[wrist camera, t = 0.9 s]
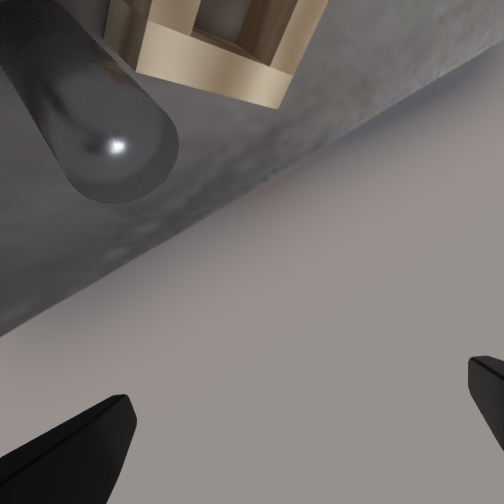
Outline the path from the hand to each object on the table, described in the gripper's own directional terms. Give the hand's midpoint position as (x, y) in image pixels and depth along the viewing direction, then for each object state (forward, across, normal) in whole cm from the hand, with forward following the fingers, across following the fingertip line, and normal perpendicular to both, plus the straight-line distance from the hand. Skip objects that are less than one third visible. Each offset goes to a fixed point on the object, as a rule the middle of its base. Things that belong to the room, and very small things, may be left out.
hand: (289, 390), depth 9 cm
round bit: (+11, -10, +12) cm, 19 cm away
